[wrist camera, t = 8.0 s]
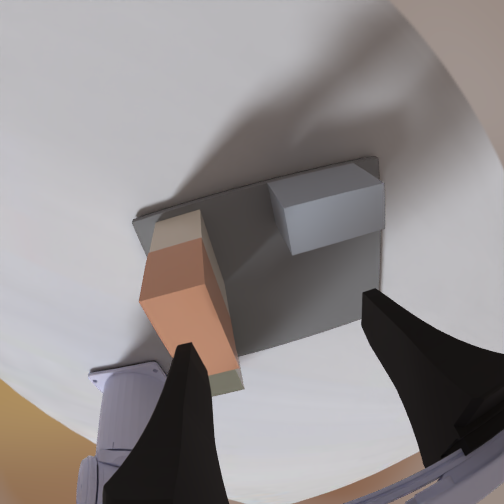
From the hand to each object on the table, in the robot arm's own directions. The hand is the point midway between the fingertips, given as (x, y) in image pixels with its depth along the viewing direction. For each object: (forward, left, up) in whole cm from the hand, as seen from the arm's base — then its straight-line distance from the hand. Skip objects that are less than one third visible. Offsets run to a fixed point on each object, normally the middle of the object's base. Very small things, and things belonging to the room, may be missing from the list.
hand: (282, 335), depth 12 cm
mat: (-5, -1, -10) cm, 12 cm away
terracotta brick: (-1, +4, -6) cm, 7 cm away
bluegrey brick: (+1, -5, -10) cm, 11 cm away
